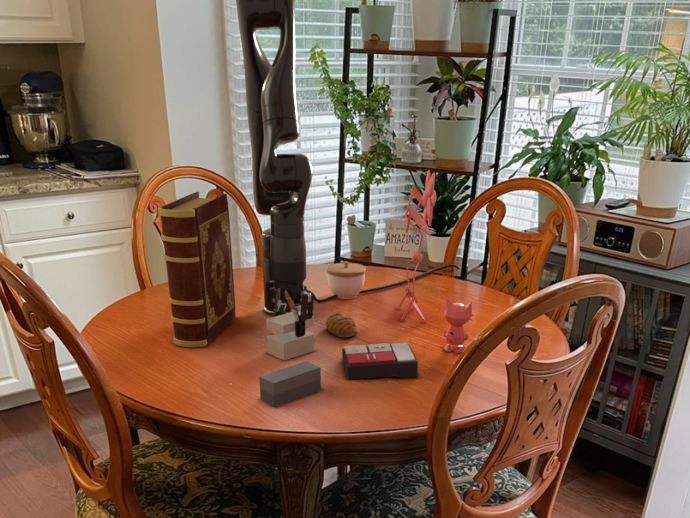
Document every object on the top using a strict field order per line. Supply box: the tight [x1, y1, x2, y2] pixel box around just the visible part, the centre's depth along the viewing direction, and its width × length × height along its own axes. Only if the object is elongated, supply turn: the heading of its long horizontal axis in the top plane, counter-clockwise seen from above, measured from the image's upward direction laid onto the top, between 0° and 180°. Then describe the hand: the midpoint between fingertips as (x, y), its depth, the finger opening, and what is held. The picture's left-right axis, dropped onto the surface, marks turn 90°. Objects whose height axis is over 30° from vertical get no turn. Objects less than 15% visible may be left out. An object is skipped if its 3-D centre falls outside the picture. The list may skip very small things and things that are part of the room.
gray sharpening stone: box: [258, 360, 322, 408], centre depth 141 cm, size 12×4×5 cm, turn 135°
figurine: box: [396, 169, 444, 329], centre depth 177 cm, size 15×26×35 cm, turn 2°
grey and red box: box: [341, 342, 419, 380], centre depth 154 cm, size 11×4×15 cm
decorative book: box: [157, 191, 236, 349], centre depth 164 cm, size 22×8×30 cm, turn 168°
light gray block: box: [266, 330, 316, 361], centre depth 161 cm, size 9×6×4 cm, turn 134°
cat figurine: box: [443, 298, 474, 354], centre depth 162 cm, size 7×7×12 cm
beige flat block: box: [265, 311, 315, 334], centre depth 158 cm, size 9×6×2 cm, turn 134°
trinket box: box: [326, 261, 367, 300], centre depth 197 cm, size 11×11×9 cm
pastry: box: [325, 312, 358, 338], centre depth 173 cm, size 9×7×4 cm
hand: (290, 332), depth 160 cm, fingers closed on beige flat block, 6 cm apart
